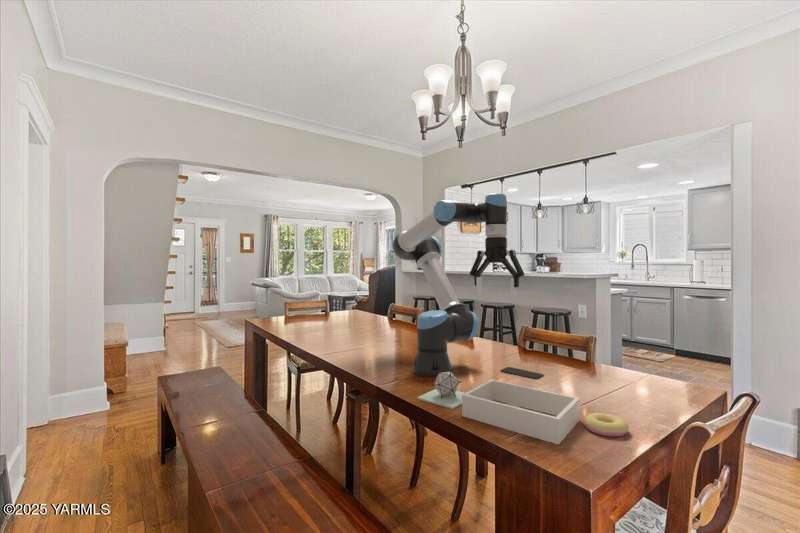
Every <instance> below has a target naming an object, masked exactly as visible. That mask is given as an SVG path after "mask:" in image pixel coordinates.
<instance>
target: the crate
mask: <svg viewBox="0 0 800 533" xmlns="http://www.w3.org/2000/svg"><path fill="white" fill-rule="evenodd" d="M580 405H581V398H580V397H578V396H577V397H576V396H572V395H566V394H561V393H556V392H553V391H547V390H545V389H539V388H534V387H530V386H524V385H520V384H514V383H511V382H506V381H501V380H497V379H493V378H491V379H489V380H488V381H486V382H484V383H482V384H480V385H478V386H476V387H474V388H472V389H470V390H469V391H467V392H464V394H463V395H462V406H461V414H462V415H461V416H462V417H464V418H467V419H471V420H473V421H474V420H475V421H477V422H481V423H485V424H488V425H490V426H495V427H498V428H502V429H503V430H504V429H505V430H508V431H511V432H515V433H518V434H522V435H524V436H529V437H532V438H536V439H537V440H538V439H539V440H542V441H545V442H547V443H551V442H552V444H555V445H558V444H559V445H560V444H561V443H562V442H563V441H564V440H565V438H566V437H567V436H568V435H569V434H570V432H571V431H572V430H573V429H574V428H575V426H576V425H577V424H578V423H579V421H580V418H581V408H580V407H581V406H580ZM567 434H568V435H567ZM561 441H562V442H561Z"/></svg>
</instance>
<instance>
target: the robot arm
mask: <svg viewBox="0 0 800 533" xmlns="http://www.w3.org/2000/svg"><path fill="white" fill-rule="evenodd" d="M484 199H485V200H484V201H483V202H475V203H474V202H467V201H458V200H455V201H454V200H449V199H440V200H438V201H437V202H436V203H435V205H434V206H433V211H432V212H431V213H429V214H428V215H427V216H425V217H424V218H422V219H421V220H419V221H418V222H416V224H414V225H413V226H411V227H410V228H409V229H408V230H403V231H401V232H400V233H398V234H397V235H396V236H395V238H394V239H393V241H392V251H393V253H394V254H395V256H397V257H398V258H399V259H401V260H403V261H414V262H415V264H416V266H417V267H418V268H419V269H422V271H423V273H424V276H425V278H426V280H427V283H428V285H429V288H430V289H431V293H432V294H433V296H434V298H435V300H436V303H437V305H438V306H439V309H437V310H427V311H424V312H421V313H420V314H418V317H417V324H416V328H417V329H416V330H417V332H416V333H417V338H416V339H417V345H416V346H417V352H416V355H415V358H414V361H413V364H412V372H413V373H414V374H415V373H416V375H417V374H418V376H421V375H422V377H426V376H428V377H427V378H429V377H430V378H437V375H438V373H437V371H438V372H439V373H441V372H450V370H451V369H452V367H453V366H452V363H451V360H450V357H449V354H448V344H451V343H457V342H466V341H467V342H468V341H471V340H473V339H474V338H475V337H476V336H477V335H478V332H479V328H480V324H479V323H480V321H479V318H478V316H477V314H476V313H475V312H474V311H471V310H468V309H467V307H466V305H465V304H464V303H462V302H460V301H459V299H458V296H457V295H456V292H455V291H454V288H453V287H452V285H451V282H450V280H449V278H448V276H447V274H446V272H445V270H444V268H443V266H442V263H441V262H440V260H441V255H442V245H441V242H440V240H439V239H438V238H437V237H435V236H434V235H435V234H436V233H439V232H440V231H441V230H443V229H444V228H446V227H447V226H449V225H451V224H452V223H465V224H467V225H476V224H480V223H484V224H485V229H484V230H485V234H484V235H485V236H486V237H485V238H484V240H485V243H484V247H485V251H484V250H478V251H477V252H476V253H477V256H476V258H475V259H474V262H473V265H472V267H471V269H470V272H469V276H472V277H474V286H475V287H476V296H481V295H482V294H483V292H482V291H483V290H482V289H483V286H482V285H483V284H482V283H483V280H482V279H483V277H481V275H482V274H484V271H485V270H486V269H487V268H488V266H489V265H490V264H494V263H495V264H496V263H497V264H498V263H501V264H503V266H504V267H505V268H506V270H507V271H508V272H509V273H510V274H511V276H512V277H511V282H510V284H511V286H510V288H511V289H510V292H511V294H510V297H511V298H515V297H517V294H518V293H517V292H518V291H517V288H519V286H520V278H522V277H524V276H525V273H524V270H523V268H522V265H521V264H520V261H519V259H518V258H517V252H516V250H515V249H510V250H508V248H507V247H508V244H507V242H508V239H507V237H506V236H508V231H507V230H508V228H507V227H508V226H507V219H508V218H507V215H508V212H507V211H508V203H507V202H508V201H507V195H506V194H505V193H501V192H499V193H498V192H496V193H488V194H486V195H485V198H484ZM507 255H508V257H510V260H511V262H512V264H513V265H512V264H511V263H510V262H509V260H508V259H507ZM484 257H485V258H484ZM483 258H484V261H483V262H482V260H483ZM481 263H482V264H481ZM452 370H453V369H452Z"/></svg>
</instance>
